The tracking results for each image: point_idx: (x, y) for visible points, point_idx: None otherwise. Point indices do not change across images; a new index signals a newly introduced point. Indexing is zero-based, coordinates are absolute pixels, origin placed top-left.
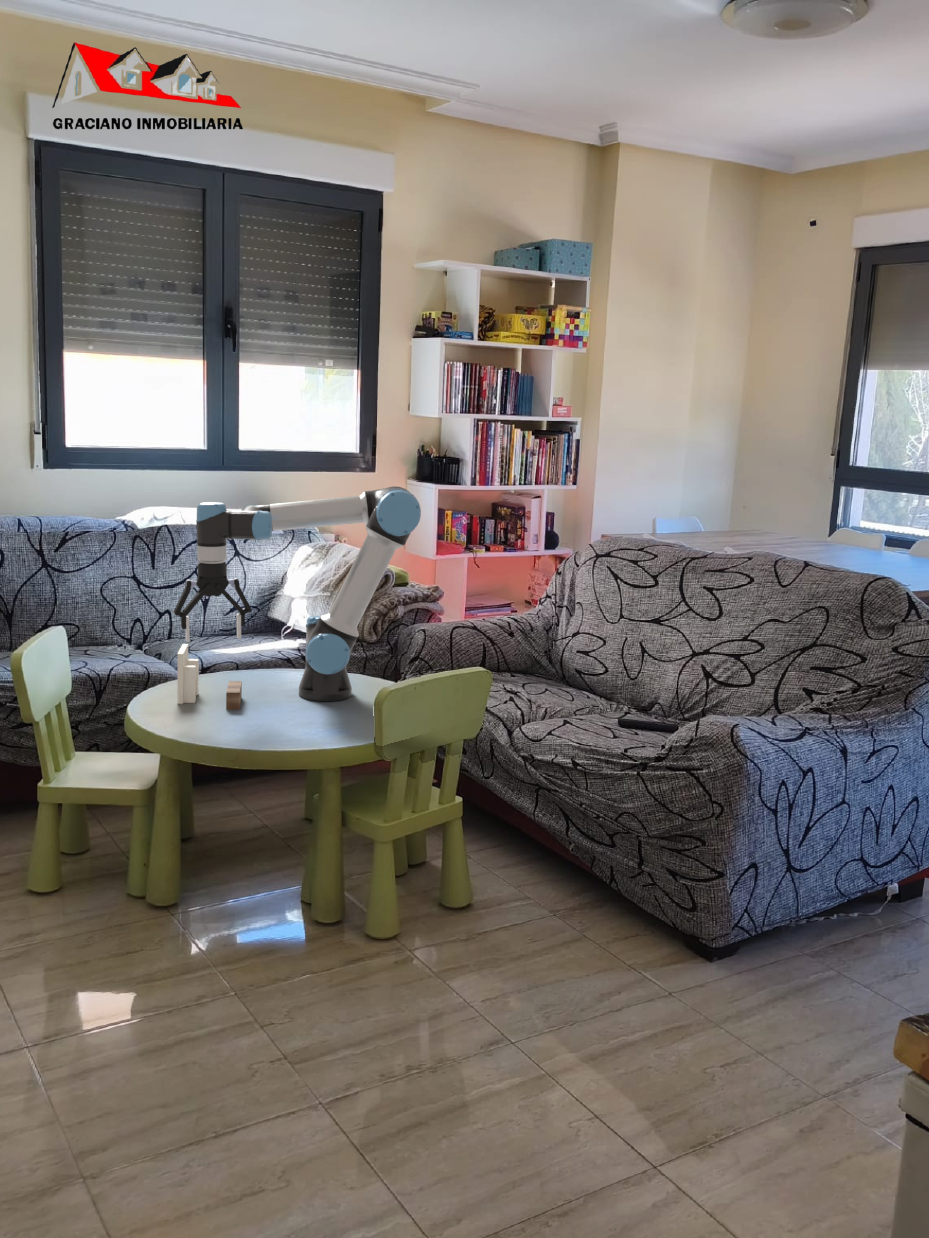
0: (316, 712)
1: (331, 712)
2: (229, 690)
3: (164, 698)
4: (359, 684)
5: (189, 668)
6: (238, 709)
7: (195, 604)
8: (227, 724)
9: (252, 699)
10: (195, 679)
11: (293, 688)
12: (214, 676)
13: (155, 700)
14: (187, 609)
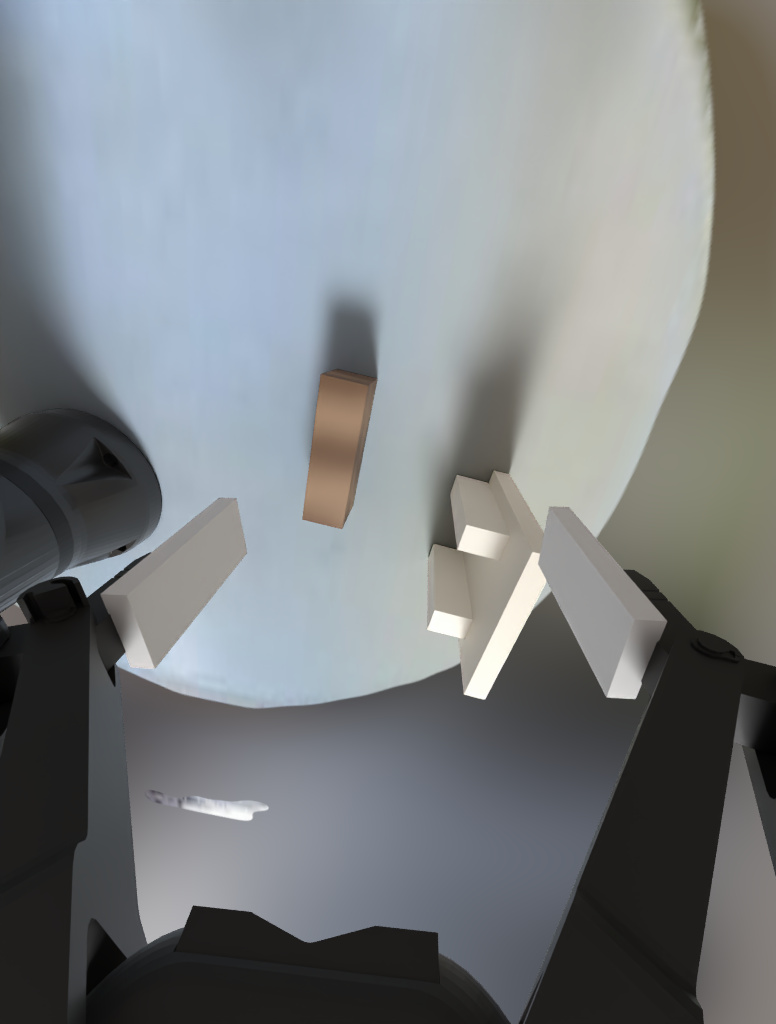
0: (95, 293)
1: (48, 282)
2: (353, 412)
3: None
4: None
5: (487, 527)
6: (338, 369)
7: (633, 771)
8: (398, 183)
9: (288, 480)
10: (457, 516)
11: None
12: (363, 683)
13: None
14: (716, 709)
